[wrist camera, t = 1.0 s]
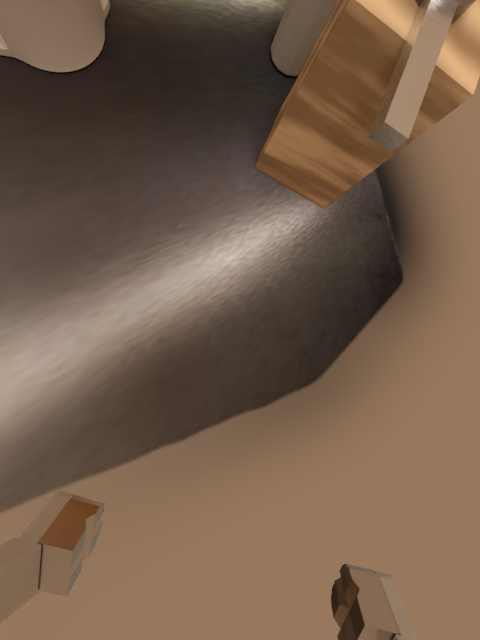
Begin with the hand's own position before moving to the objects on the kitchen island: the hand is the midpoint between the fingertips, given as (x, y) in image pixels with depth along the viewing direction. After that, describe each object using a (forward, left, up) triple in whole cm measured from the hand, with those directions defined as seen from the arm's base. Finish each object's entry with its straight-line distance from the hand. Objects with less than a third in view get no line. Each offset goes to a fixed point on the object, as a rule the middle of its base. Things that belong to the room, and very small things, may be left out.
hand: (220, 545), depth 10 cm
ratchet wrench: (-14, +34, -10) cm, 38 cm away
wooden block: (-17, +40, -36) cm, 56 cm away
